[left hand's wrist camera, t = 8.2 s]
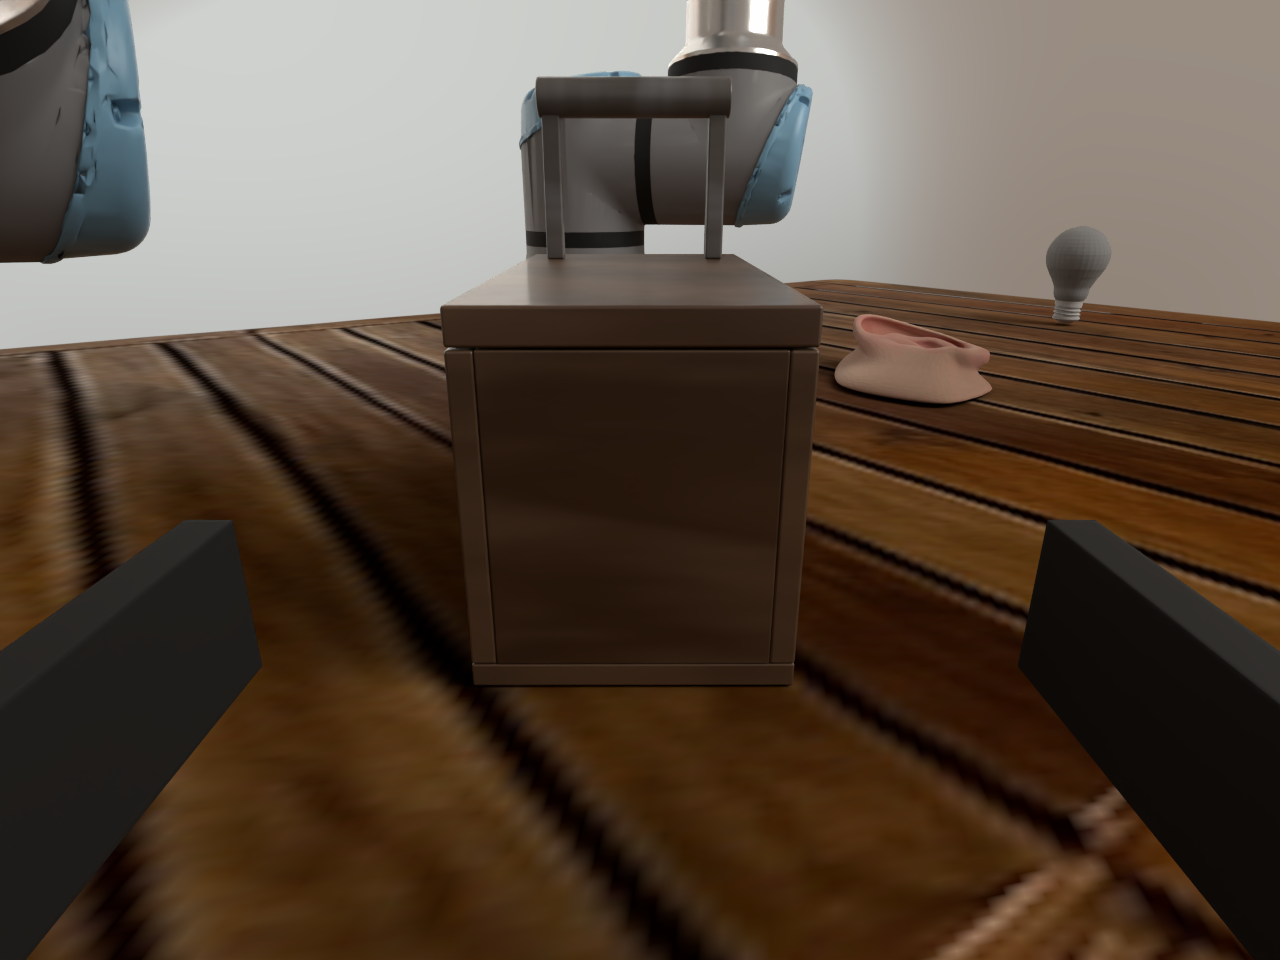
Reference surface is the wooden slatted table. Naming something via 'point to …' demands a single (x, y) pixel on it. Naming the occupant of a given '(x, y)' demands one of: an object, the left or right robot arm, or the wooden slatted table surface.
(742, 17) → the right robot arm
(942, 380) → the anatomical model
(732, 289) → the lid
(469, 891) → the wooden slatted table surface
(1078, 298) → the light bulb
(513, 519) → the chest
